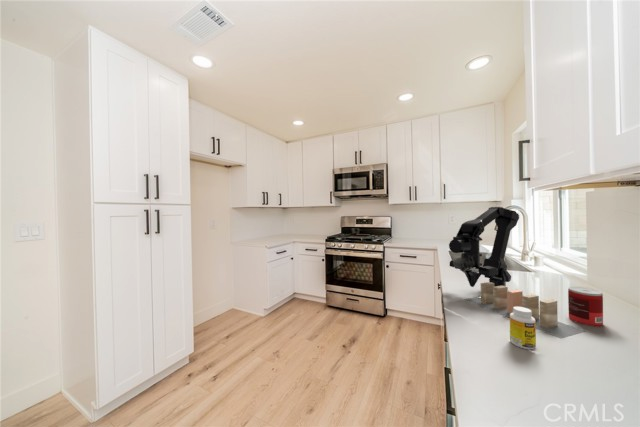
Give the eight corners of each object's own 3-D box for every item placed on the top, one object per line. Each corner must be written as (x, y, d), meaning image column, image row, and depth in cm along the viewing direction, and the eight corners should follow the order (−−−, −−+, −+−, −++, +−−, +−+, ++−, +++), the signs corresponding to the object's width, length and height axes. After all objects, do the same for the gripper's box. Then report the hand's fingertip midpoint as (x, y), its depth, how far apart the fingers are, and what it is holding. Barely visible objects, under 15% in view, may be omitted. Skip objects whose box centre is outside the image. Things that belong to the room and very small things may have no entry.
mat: (484, 296, 101) (484, 295, 101) (585, 332, 71) (585, 331, 71) (463, 300, 98) (463, 299, 98) (560, 339, 67) (560, 338, 67)
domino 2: (493, 307, 89) (492, 286, 89) (502, 305, 91) (502, 285, 91) (498, 309, 87) (498, 288, 87) (507, 307, 89) (507, 287, 89)
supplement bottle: (525, 351, 62) (525, 314, 62) (505, 340, 67) (504, 306, 67) (541, 348, 63) (540, 312, 63) (519, 338, 69) (519, 304, 69)
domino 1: (480, 302, 94) (480, 283, 94) (489, 300, 96) (489, 281, 96) (485, 304, 92) (485, 284, 92) (494, 302, 94) (494, 283, 94)
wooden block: (539, 325, 75) (539, 300, 75) (549, 322, 76) (549, 298, 76) (547, 328, 73) (547, 303, 73) (557, 325, 75) (557, 301, 74)
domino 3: (507, 312, 85) (506, 291, 85) (516, 310, 86) (516, 289, 86) (513, 314, 83) (512, 292, 83) (522, 312, 84) (522, 291, 84)
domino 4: (522, 318, 80) (522, 295, 80) (532, 316, 81) (531, 293, 81) (529, 321, 78) (528, 297, 78) (539, 318, 79) (538, 295, 79)
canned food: (600, 321, 78) (600, 289, 78) (606, 330, 72) (605, 295, 72) (567, 315, 83) (566, 284, 83) (569, 323, 77) (569, 290, 77)
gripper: (440, 249, 107) (440, 282, 107) (478, 256, 89) (478, 296, 89) (458, 247, 110) (459, 280, 110) (498, 254, 92) (499, 292, 92)
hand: (472, 286), depth 100 cm, fingers closed
